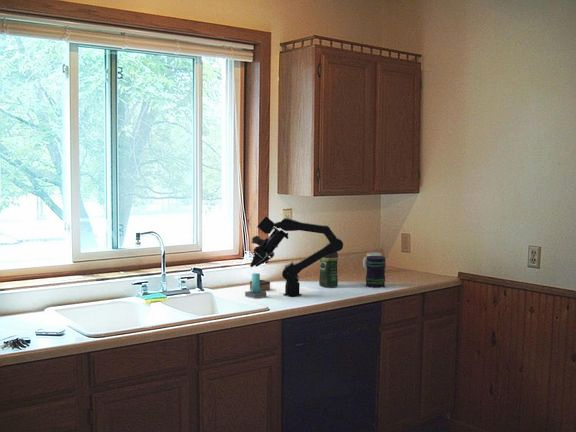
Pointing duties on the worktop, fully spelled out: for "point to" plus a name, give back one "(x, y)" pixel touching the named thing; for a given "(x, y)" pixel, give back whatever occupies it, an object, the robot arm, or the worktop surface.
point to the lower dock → (257, 295)
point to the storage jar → (375, 271)
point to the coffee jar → (329, 270)
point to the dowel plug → (255, 283)
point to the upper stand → (262, 285)
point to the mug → (370, 255)
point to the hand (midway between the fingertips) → (253, 266)
